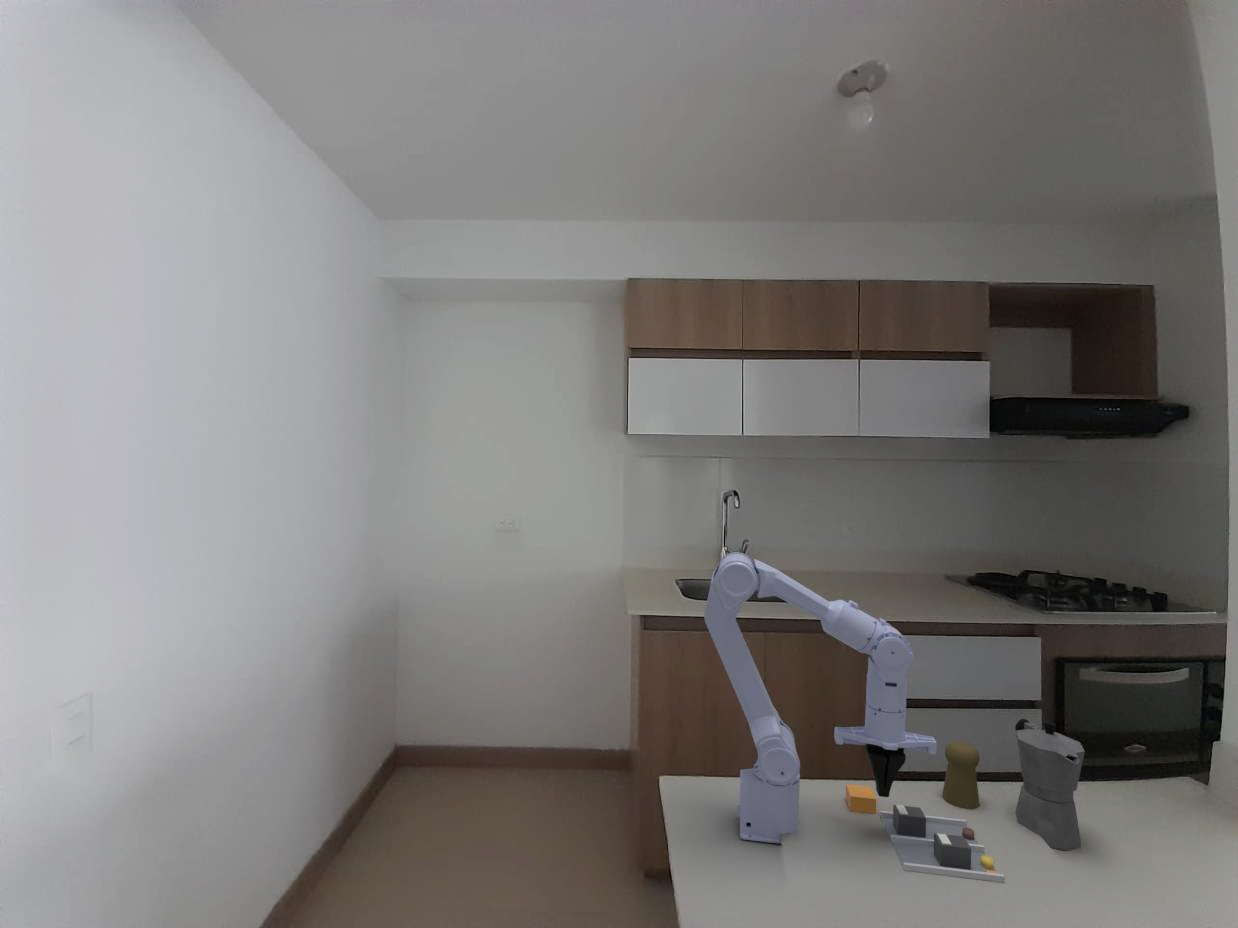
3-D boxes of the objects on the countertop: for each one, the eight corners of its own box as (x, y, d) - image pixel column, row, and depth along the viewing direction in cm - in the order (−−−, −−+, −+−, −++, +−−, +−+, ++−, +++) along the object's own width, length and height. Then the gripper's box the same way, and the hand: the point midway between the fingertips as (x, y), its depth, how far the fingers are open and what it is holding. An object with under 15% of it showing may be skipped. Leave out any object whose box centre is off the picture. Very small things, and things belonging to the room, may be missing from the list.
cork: (986, 820, 105) (988, 754, 105) (946, 815, 106) (948, 750, 106) (973, 801, 111) (975, 739, 111) (936, 797, 112) (937, 735, 112)
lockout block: (850, 820, 104) (850, 796, 104) (845, 807, 108) (846, 784, 108) (875, 823, 103) (876, 798, 103) (869, 810, 107) (870, 786, 107)
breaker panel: (903, 880, 89) (904, 862, 89) (879, 824, 103) (880, 809, 103) (1004, 893, 87) (1004, 874, 87) (965, 834, 101) (966, 818, 101)
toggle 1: (898, 834, 98) (898, 813, 98) (892, 823, 101) (893, 803, 101) (925, 837, 97) (926, 816, 97) (919, 826, 100) (920, 806, 100)
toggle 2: (940, 865, 90) (941, 843, 90) (933, 853, 93) (934, 831, 93) (970, 869, 89) (971, 847, 89) (962, 856, 92) (963, 835, 92)
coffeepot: (1106, 861, 95) (1109, 741, 95) (1040, 857, 95) (1044, 738, 95) (1043, 805, 110) (1046, 702, 110) (987, 802, 111) (990, 699, 111)
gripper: (841, 711, 95) (837, 801, 95) (944, 721, 93) (941, 813, 93) (833, 694, 102) (830, 778, 102) (929, 703, 99) (926, 789, 100)
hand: (882, 793), depth 98 cm, fingers closed
